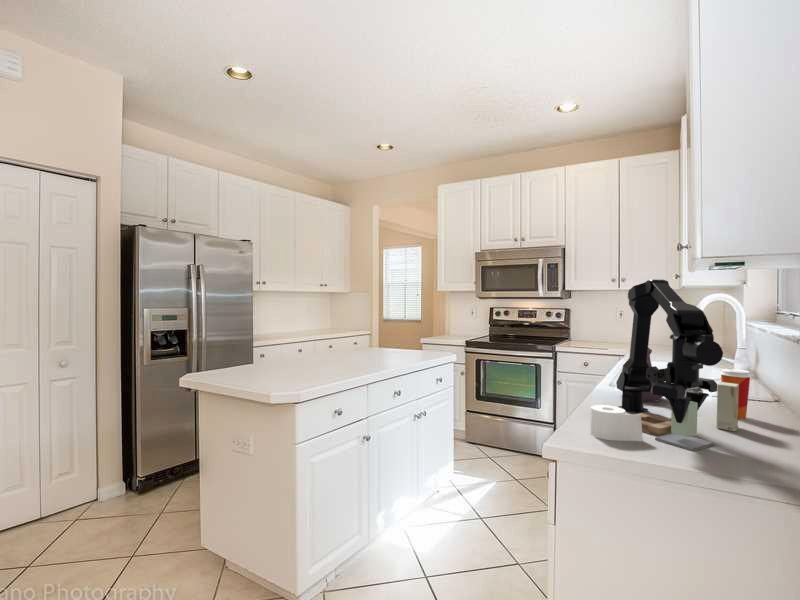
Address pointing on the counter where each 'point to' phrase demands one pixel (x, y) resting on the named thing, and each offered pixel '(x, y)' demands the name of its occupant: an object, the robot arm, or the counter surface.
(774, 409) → the counter surface
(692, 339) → the robot arm
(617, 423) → the toilet paper
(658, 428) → the pocket block
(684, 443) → the coaster
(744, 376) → the paper cup
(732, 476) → the counter surface
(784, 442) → the counter surface
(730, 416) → the skincare box
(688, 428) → the green block
